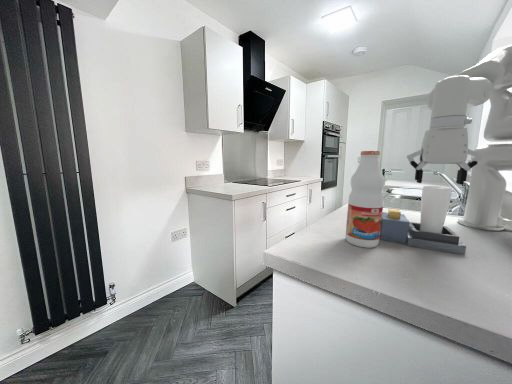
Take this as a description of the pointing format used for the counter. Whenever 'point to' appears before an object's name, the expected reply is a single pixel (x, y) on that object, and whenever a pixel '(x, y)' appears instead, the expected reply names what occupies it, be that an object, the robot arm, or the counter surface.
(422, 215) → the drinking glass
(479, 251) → the counter surface
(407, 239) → the grey tray
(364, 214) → the fruit juice
